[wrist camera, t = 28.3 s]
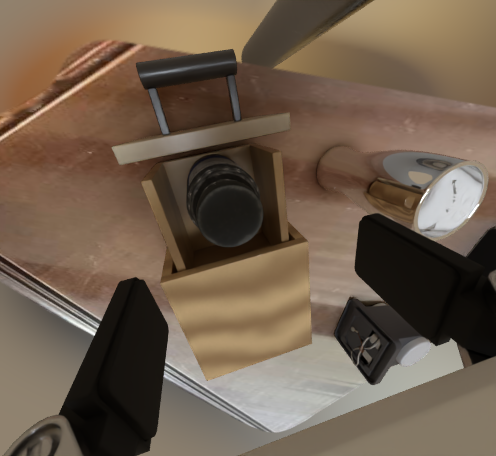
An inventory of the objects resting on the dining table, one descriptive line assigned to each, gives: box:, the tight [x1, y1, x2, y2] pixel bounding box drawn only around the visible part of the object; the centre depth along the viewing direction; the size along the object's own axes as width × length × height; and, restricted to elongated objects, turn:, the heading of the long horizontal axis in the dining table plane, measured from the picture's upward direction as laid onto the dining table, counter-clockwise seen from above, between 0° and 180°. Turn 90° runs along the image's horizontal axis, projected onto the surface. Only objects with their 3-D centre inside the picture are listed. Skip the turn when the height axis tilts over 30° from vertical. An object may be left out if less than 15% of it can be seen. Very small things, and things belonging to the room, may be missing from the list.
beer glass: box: [317, 146, 488, 241], centre depth 23 cm, size 7×7×15 cm
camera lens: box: [186, 154, 263, 247], centre depth 19 cm, size 6×6×11 cm
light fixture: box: [335, 299, 431, 385], centre depth 42 cm, size 11×13×11 cm
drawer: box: [112, 49, 291, 272], centre depth 21 cm, size 19×13×9 cm, turn 10°
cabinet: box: [160, 221, 312, 381], centre depth 28 cm, size 16×14×11 cm
